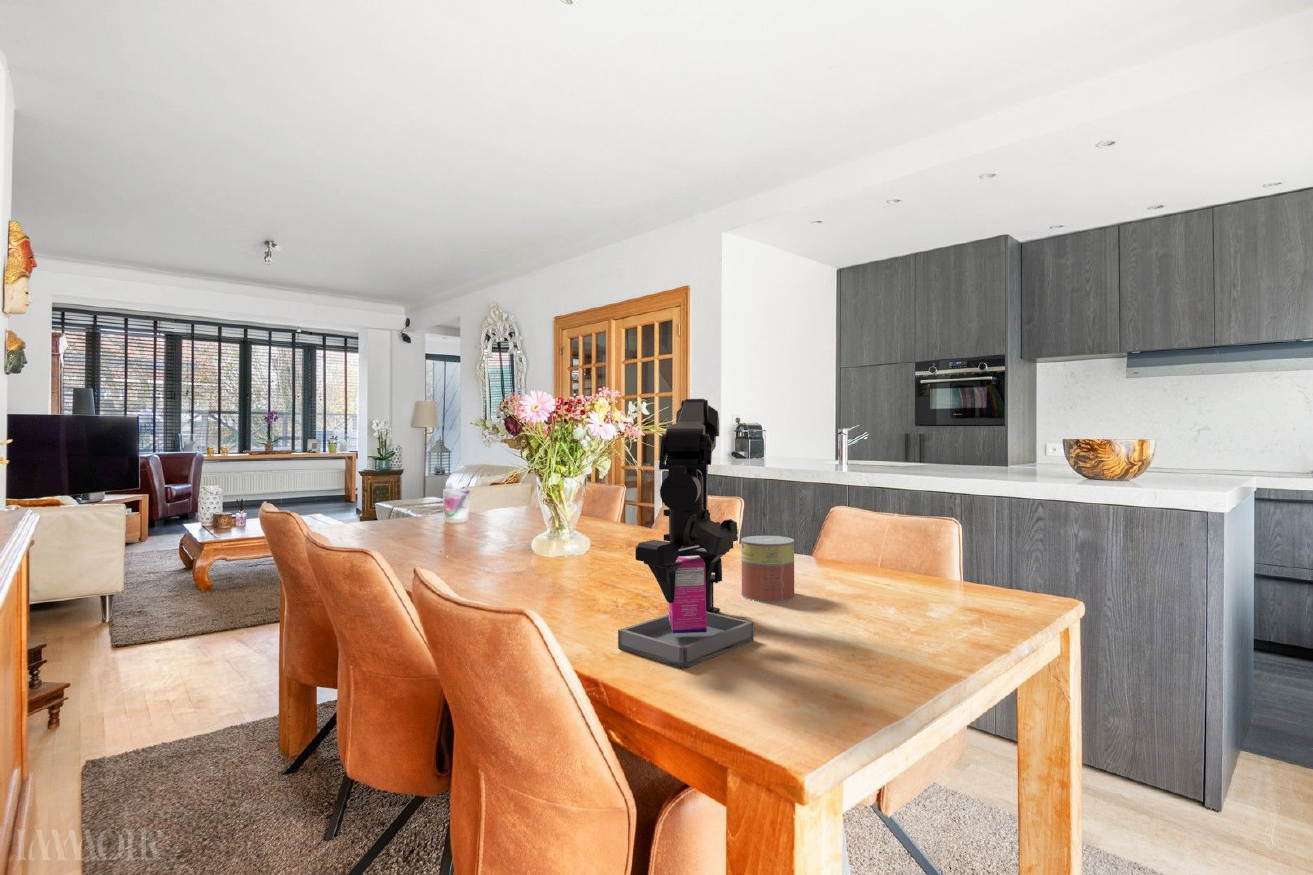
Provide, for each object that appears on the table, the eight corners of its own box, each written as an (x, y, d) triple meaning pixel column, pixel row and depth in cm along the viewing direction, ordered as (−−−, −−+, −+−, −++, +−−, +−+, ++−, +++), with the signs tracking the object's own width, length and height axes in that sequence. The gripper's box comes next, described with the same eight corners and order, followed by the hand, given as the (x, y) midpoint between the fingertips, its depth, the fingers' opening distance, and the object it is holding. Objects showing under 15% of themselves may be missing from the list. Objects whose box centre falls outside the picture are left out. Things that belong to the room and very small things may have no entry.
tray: (689, 623, 120) (689, 607, 120) (753, 640, 110) (753, 622, 110) (618, 648, 107) (618, 629, 107) (683, 669, 97) (683, 648, 97)
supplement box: (667, 623, 111) (667, 555, 111) (702, 622, 112) (701, 555, 112) (671, 633, 106) (670, 562, 105) (707, 632, 106) (707, 561, 106)
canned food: (756, 586, 148) (755, 533, 148) (803, 593, 142) (803, 538, 141) (731, 597, 139) (731, 540, 139) (780, 605, 132) (780, 545, 132)
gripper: (686, 513, 96) (687, 619, 96) (759, 501, 110) (759, 595, 110) (632, 507, 104) (633, 605, 104) (706, 497, 117) (707, 584, 117)
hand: (686, 597), depth 109 cm, fingers closed on supplement box, 8 cm apart
